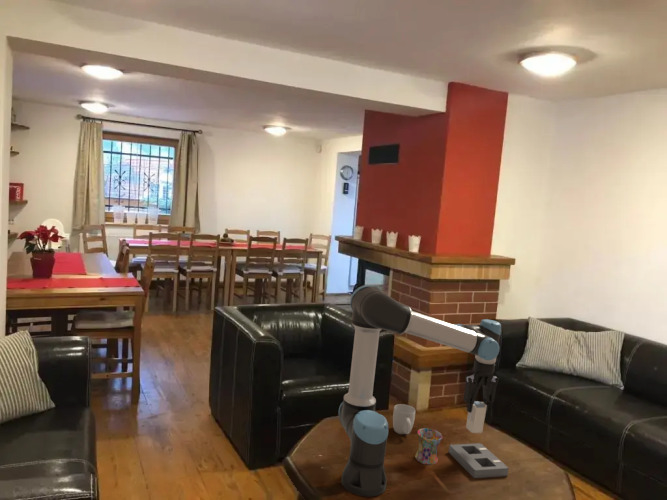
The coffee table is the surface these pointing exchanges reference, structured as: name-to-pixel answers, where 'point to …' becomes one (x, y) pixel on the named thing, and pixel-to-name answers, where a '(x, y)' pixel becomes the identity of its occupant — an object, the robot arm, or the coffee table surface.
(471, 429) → the plug
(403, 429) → the mug
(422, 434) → the mug
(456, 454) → the panel
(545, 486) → the coffee table surface
